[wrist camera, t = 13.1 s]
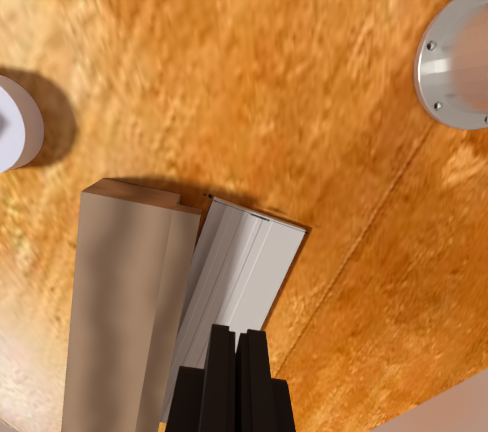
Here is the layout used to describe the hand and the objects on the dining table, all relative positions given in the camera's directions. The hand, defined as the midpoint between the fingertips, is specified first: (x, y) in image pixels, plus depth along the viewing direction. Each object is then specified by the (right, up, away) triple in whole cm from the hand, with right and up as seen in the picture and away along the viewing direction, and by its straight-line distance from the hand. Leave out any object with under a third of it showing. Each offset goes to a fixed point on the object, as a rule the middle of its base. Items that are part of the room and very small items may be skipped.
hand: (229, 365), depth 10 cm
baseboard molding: (-4, -8, +31) cm, 32 cm away
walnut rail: (-12, -7, +29) cm, 33 cm away
